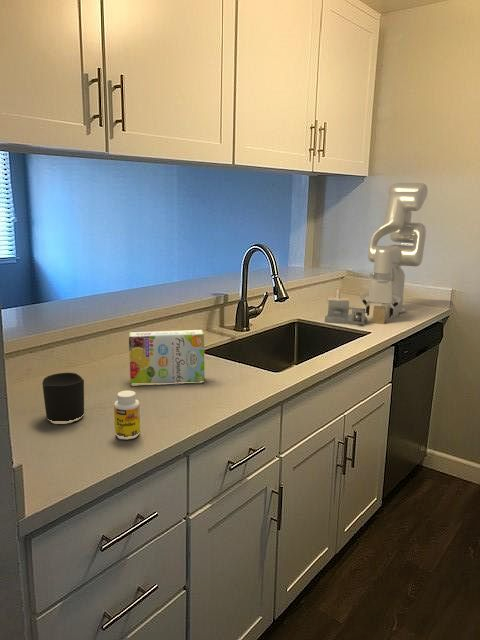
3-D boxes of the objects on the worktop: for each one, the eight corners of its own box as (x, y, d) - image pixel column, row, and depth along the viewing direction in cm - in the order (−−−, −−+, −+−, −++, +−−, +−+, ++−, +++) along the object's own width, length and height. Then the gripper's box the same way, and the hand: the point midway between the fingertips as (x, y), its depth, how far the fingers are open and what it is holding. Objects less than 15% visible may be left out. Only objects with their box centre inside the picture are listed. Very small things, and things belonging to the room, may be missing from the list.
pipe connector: (349, 312, 249) (351, 291, 247) (328, 312, 249) (329, 291, 247) (345, 308, 259) (347, 288, 257) (325, 307, 259) (326, 287, 257)
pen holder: (92, 411, 132) (90, 374, 130) (74, 427, 123) (72, 387, 121) (57, 408, 134) (54, 371, 132) (37, 424, 125) (34, 384, 123)
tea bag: (398, 315, 245) (400, 294, 243) (391, 317, 240) (392, 296, 238) (390, 314, 247) (392, 293, 245) (383, 316, 243) (385, 295, 240)
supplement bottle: (113, 441, 117) (111, 398, 114) (117, 430, 122) (115, 389, 120) (138, 441, 117) (137, 398, 115) (141, 430, 123) (140, 388, 120)
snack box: (202, 377, 159) (202, 328, 155) (204, 384, 153) (204, 333, 150) (130, 380, 155) (128, 331, 151) (130, 387, 150) (128, 336, 146)
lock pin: (355, 315, 235) (355, 307, 234) (363, 316, 234) (364, 308, 234) (352, 322, 222) (353, 314, 221) (361, 323, 221) (361, 314, 220)
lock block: (373, 319, 236) (374, 305, 234) (384, 320, 235) (385, 306, 233) (372, 323, 229) (373, 308, 228) (384, 324, 228) (385, 309, 227)
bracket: (328, 316, 241) (329, 300, 239) (365, 319, 236) (366, 302, 235) (324, 322, 229) (325, 305, 228) (363, 325, 225) (365, 308, 223)
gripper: (361, 276, 226) (358, 316, 230) (403, 279, 221) (399, 319, 225) (362, 274, 233) (359, 312, 237) (403, 276, 228) (399, 315, 232)
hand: (379, 315), depth 231 cm, fingers open, 9 cm apart
